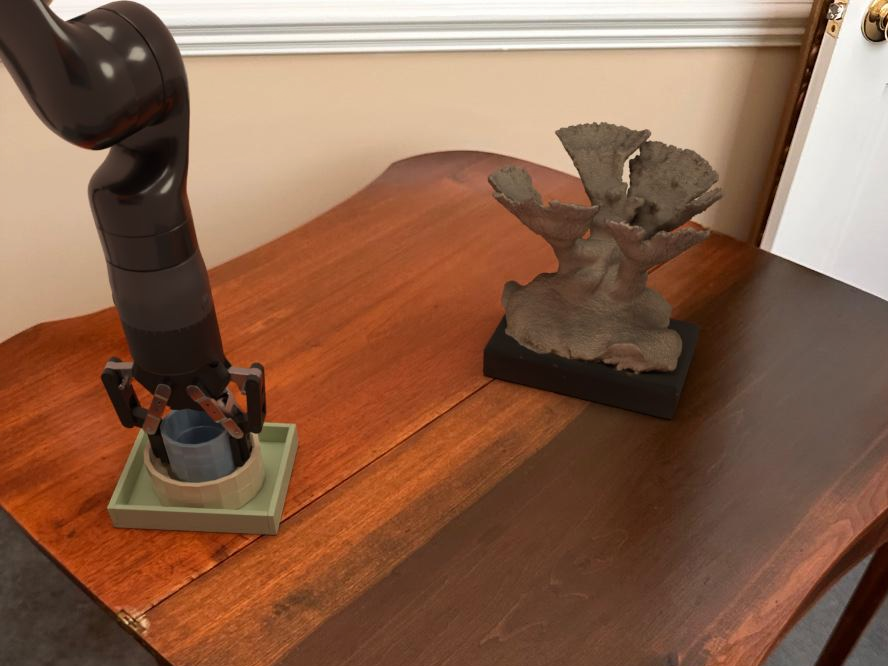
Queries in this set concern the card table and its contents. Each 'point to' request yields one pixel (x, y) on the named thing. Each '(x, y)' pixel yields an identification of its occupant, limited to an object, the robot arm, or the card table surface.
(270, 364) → the card table surface
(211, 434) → the blue cup
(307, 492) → the card table surface
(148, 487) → the tray
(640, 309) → the coral
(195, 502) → the large bowl
